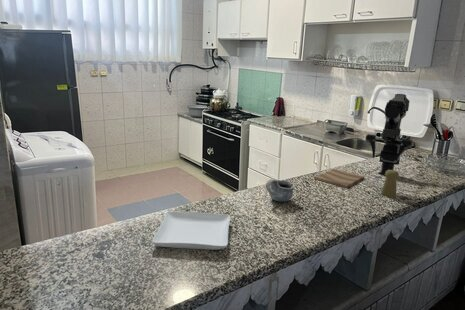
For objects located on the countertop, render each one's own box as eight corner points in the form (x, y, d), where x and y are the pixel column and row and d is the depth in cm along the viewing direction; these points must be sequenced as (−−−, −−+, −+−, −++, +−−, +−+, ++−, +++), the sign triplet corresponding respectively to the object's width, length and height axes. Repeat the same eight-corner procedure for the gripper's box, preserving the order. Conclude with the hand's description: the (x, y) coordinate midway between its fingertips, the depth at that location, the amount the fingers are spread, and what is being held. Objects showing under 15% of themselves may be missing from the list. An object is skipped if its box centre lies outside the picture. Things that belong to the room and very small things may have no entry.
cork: (393, 193, 149) (397, 168, 146) (398, 198, 143) (402, 173, 141) (378, 191, 150) (382, 167, 147) (383, 197, 144) (387, 172, 141)
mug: (297, 201, 135) (299, 177, 133) (278, 209, 126) (281, 184, 124) (277, 194, 142) (279, 171, 139) (258, 201, 133) (260, 177, 130)
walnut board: (333, 170, 177) (333, 168, 177) (364, 178, 167) (364, 176, 167) (314, 179, 163) (314, 176, 162) (346, 188, 152) (347, 185, 152)
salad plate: (167, 219, 115) (167, 209, 114) (230, 222, 115) (230, 213, 114) (150, 252, 95) (150, 241, 94) (227, 257, 94) (227, 246, 94)
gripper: (368, 118, 151) (360, 151, 149) (415, 123, 142) (408, 159, 140) (370, 126, 161) (363, 158, 158) (414, 131, 152) (407, 165, 150)
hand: (384, 159), depth 151 cm, fingers open, 9 cm apart
